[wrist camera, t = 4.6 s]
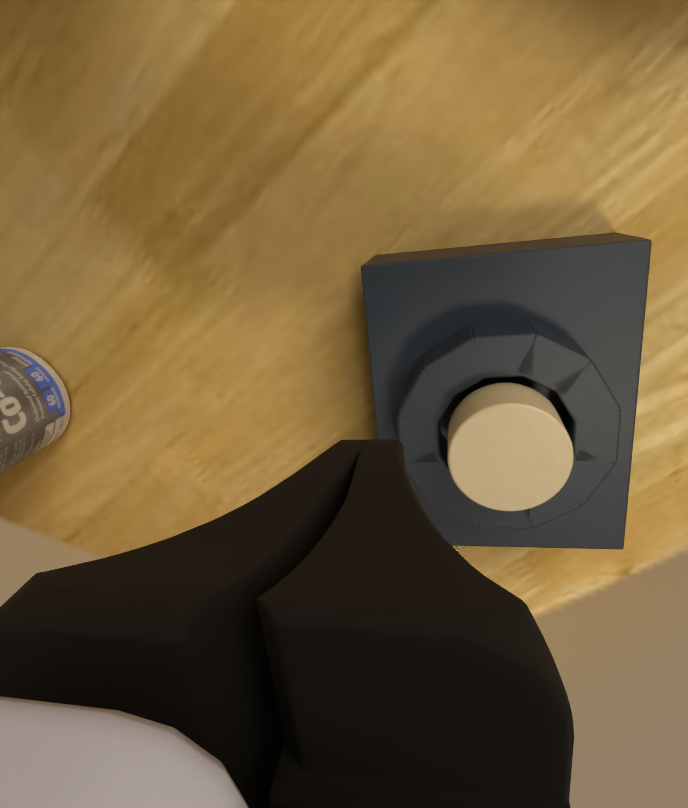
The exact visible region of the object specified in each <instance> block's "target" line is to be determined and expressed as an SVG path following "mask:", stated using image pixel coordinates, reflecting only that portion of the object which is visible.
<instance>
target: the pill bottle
mask: <svg viewBox="0 0 688 808" xmlns="http://www.w3.org/2000/svg"><path fill="white" fill-rule="evenodd" d="M69 419H70V401H69V396H68V393H67V390H66V388H65V386H64V384H63V382H62V380H61V378H60V377H59V376H58V375H57V373H56V372H55V371H54V370H53V369H52V368H51V367H50V366H49V365H48V364H47V363H46V362H45V361H44V360H42V359H41V358H40V357H38V356H37V355H35V354H33V353H32V352H30V351H28V350H26V349H22V348H16V347H1V348H0V473H2V472H4V471H5V470H7V469H9V468H10V467H12V466H14V465H16V464H17V463H19V462H20V461H22V460H24V459H25V458H27V457H28V456H30V455H32V454H34V453H36V452H37V451H39V450H40V449H42V448H44V447H45V446H47V445H49V444H50V443H52V442H53V441H55V440H56V439H57V438H58V437H59V436H60V435H61V434H62V433H63V432H64V431H65V429H66V427H67V425H68V422H69Z"/></svg>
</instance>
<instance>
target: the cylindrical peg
mask: <svg viewBox="0 0 688 808" xmlns="http://www.w3.org/2000/svg"><path fill="white" fill-rule="evenodd" d="M573 458H574V457H573V446H572V442H571V439H570V437H569V435H568V433H567V431H566V429H565V427H564V425H563V423H562V421H561V419H560V417H559V415H558V413H557V411H556V409H555V407H554V406H553V405H552V403H551V402H550V401H549V400H548V399H547V398H546V397H545V396H544V395H542V394H541V393H540V392H538V391H536V390H534V389H533V388H530V387H528V386H525V385H521V384H516V383H495V384H491V385H487V386H484V387H481V388H479V389H477V390H475V391H473V392H472V393H470V394H469V395H468V396H466V397H465V398H464V399H463V400H462V401H461V402H460V403H459V404H458V406H457V407H456V409H455V410H454V412H453V414H452V416H451V419H450V422H449V426H448V467H449V471H450V474H451V476H452V479H453V480H454V482H455V484H456V485H457V487H458V488H459V489H460V490H461V491H462V492H463V493H464V494H465V495H466V496H467V497H468V498H470V499H471V500H472V501H474V502H476V503H478V504H479V505H482V506H484V507H487V508H490V509H494V510H499V511H520V510H526V509H530V508H533V507H535V506H538V505H540V504H542V503H544V502H546V501H547V500H549V499H550V498H552V497H553V496H554V495H555V494H556V493H557V492H558V491H559V490H560V489H561V488H562V487H563V485H564V484H565V482H566V481H567V479H568V477H569V475H570V473H571V469H572V466H573Z"/></svg>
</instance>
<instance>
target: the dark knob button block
mask: <svg viewBox="0 0 688 808" xmlns="http://www.w3.org/2000/svg"><path fill="white" fill-rule="evenodd" d="M650 253H651V240H649V239H645V238H640V237H635V236H630V235H625V234H620V233H607V234H596V235H586V236H575V237H564V238H554V239H543V240H533V241H522V242H511V243H501V244H490V245H479V246H469V247H458V248H447V249H437V250H426V251H416V252H405V253H394V254H384V255H376V256H374V257H373V258H371V259H370V260H369V261H367V262H366V263H365V264H364V265H362V266H361V273H362V284H363V295H364V305H365V316H366V327H367V338H368V348H369V359H370V370H371V381H372V392H373V402H374V413H375V424H376V435H377V440H397V439H398V440H399V441H400V442H401V443H402V444H403V445H404V458H405V471H406V474H407V476H408V479H409V481H410V484H411V486H412V488H413V490H414V493H415V495H416V496H417V498H418V500H419V502H420V504H421V506H422V507H423V509H424V511H425V512H426V514H427V515H428V517H429V518H430V520H431V521H432V523H433V524H434V525H435V527H436V528H437V529H438V531H439V532H440V533H441V534H442V536H443V537H444V538H445V539H446V540H447V542H448V543H449V544H450V545H455V546H499V547H543V548H587V549H623V547H624V536H625V525H626V514H627V503H628V492H629V482H630V471H631V460H632V449H633V438H634V427H635V416H636V405H637V395H638V384H639V373H640V362H641V351H642V340H643V329H644V318H645V307H646V297H647V286H648V275H649V264H650ZM495 383H516V384H521V385H525V386H528V387H530V388H533V389H534V390H536V391H538V392H540V393H541V394H542V395H544V396H545V397H546V398H547V399H548V400H549V401H550V402H551V403H552V405H553V406H554V407H555V409H556V411H557V413H558V415H559V417H560V419H561V421H562V423H563V425H564V427H565V429H566V431H567V433H568V435H569V437H570V439H571V442H572V446H573V457H574V458H573V466H572V469H571V473H570V475H569V477H568V479H567V481H566V482H565V484H564V485H563V487H562V488H561V489H560V490H559V491H558V492H557V493H556V494H555V495H554V496H553V497H552V498H550V499H549V500H547V501H546V502H544V503H542V504H540V505H538V506H535V507H533V508H530V509H526V510H520V511H499V510H494V509H490V508H487V507H484V506H482V505H479V504H478V503H476V502H474V501H472V500H471V499H470V498H468V497H467V496H466V495H465V494H464V493H463V492H462V491H461V490H460V489H459V488H458V487H457V485H456V484H455V482H454V480H453V479H452V476H451V474H450V471H449V467H448V426H449V422H450V419H451V416H452V414H453V412H454V410H455V409H456V407H457V406H458V404H459V403H460V402H461V401H462V400H463V399H464V398H465V397H466V396H468V395H469V394H470V393H472V392H473V391H475V390H477V389H479V388H481V387H484V386H487V385H491V384H495Z"/></svg>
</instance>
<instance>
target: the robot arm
mask: <svg viewBox="0 0 688 808" xmlns="http://www.w3.org/2000/svg"><path fill="white" fill-rule="evenodd" d="M573 730H574V729H573V719H572V713H571V708H570V704H569V700H568V697H567V694H566V691H565V688H564V685H563V682H562V680H561V677H560V674H559V672H558V669H557V667H556V664H555V662H554V659H553V657H552V654H551V652H550V650H549V648H548V646H547V644H546V642H545V639H544V637H543V635H542V633H541V631H540V629H539V627H538V625H537V624H536V622H535V620H534V618H533V616H532V614H531V612H530V610H529V608H528V607H527V605H526V604H525V603H524V602H523V601H522V600H521V599H520V598H518V597H516V596H515V595H513V594H512V593H510V592H509V591H507V590H506V589H504V588H502V587H501V586H499V585H498V584H496V583H495V582H493V581H492V580H490V579H488V578H487V577H485V576H484V575H483V574H481V573H480V572H479V571H478V570H476V569H475V568H474V567H473V566H471V565H470V564H469V563H468V562H467V561H466V560H465V559H464V558H463V557H462V556H461V555H460V554H459V553H458V552H457V551H456V550H455V549H454V548H453V547H452V546H451V545H450V544H449V543H448V542H447V540H446V539H445V538H444V537H443V536H442V534H441V533H440V532H439V531H438V529H437V528H436V527H435V525H434V524H433V523H432V521H431V520H430V518H429V517H428V515H427V514H426V512H425V511H424V509H423V507H422V506H421V504H420V502H419V500H418V498H417V496H416V495H415V493H414V490H413V488H412V486H411V484H410V481H409V479H408V476H407V474H406V471H405V458H404V445H403V444H402V443H401V442H400V441H399V440H398V439H397V440H341V441H339V442H338V443H336V444H335V445H333V446H332V447H330V448H329V449H327V450H326V451H325V452H323V453H322V454H321V455H319V456H318V457H317V458H315V459H314V460H312V461H311V462H310V463H308V464H307V465H306V466H304V467H303V468H301V469H300V470H299V471H297V472H296V473H294V474H293V475H292V476H290V477H289V478H287V479H285V480H284V481H282V482H281V483H279V484H278V485H276V486H275V487H273V488H271V489H270V490H268V491H267V492H265V493H264V494H262V495H261V496H259V497H257V498H255V499H254V500H252V501H250V502H248V503H247V504H245V505H243V506H241V507H239V508H237V509H235V510H233V511H231V512H229V513H227V514H225V515H223V516H221V517H219V518H217V519H215V520H212V521H210V522H208V523H205V524H203V525H200V526H198V527H195V528H193V529H190V530H188V531H186V532H183V533H181V534H178V535H176V536H173V537H171V538H168V539H165V540H162V541H159V542H156V543H153V544H150V545H147V546H144V547H141V548H138V549H134V550H131V551H128V552H124V553H121V554H117V555H114V556H110V557H106V558H103V559H98V560H94V561H90V562H85V563H81V564H77V565H72V566H68V567H64V568H59V569H55V570H50V571H46V572H40V573H37V574H35V575H34V576H33V577H32V578H31V579H30V580H29V581H28V582H26V583H25V584H24V585H23V586H22V587H21V588H20V589H19V590H18V591H17V592H16V593H15V594H14V595H13V596H12V597H10V598H9V599H8V600H7V601H6V602H5V603H4V604H3V605H2V606H1V607H0V808H570V804H569V792H570V780H571V767H572V755H573V743H574V731H573Z"/></svg>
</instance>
